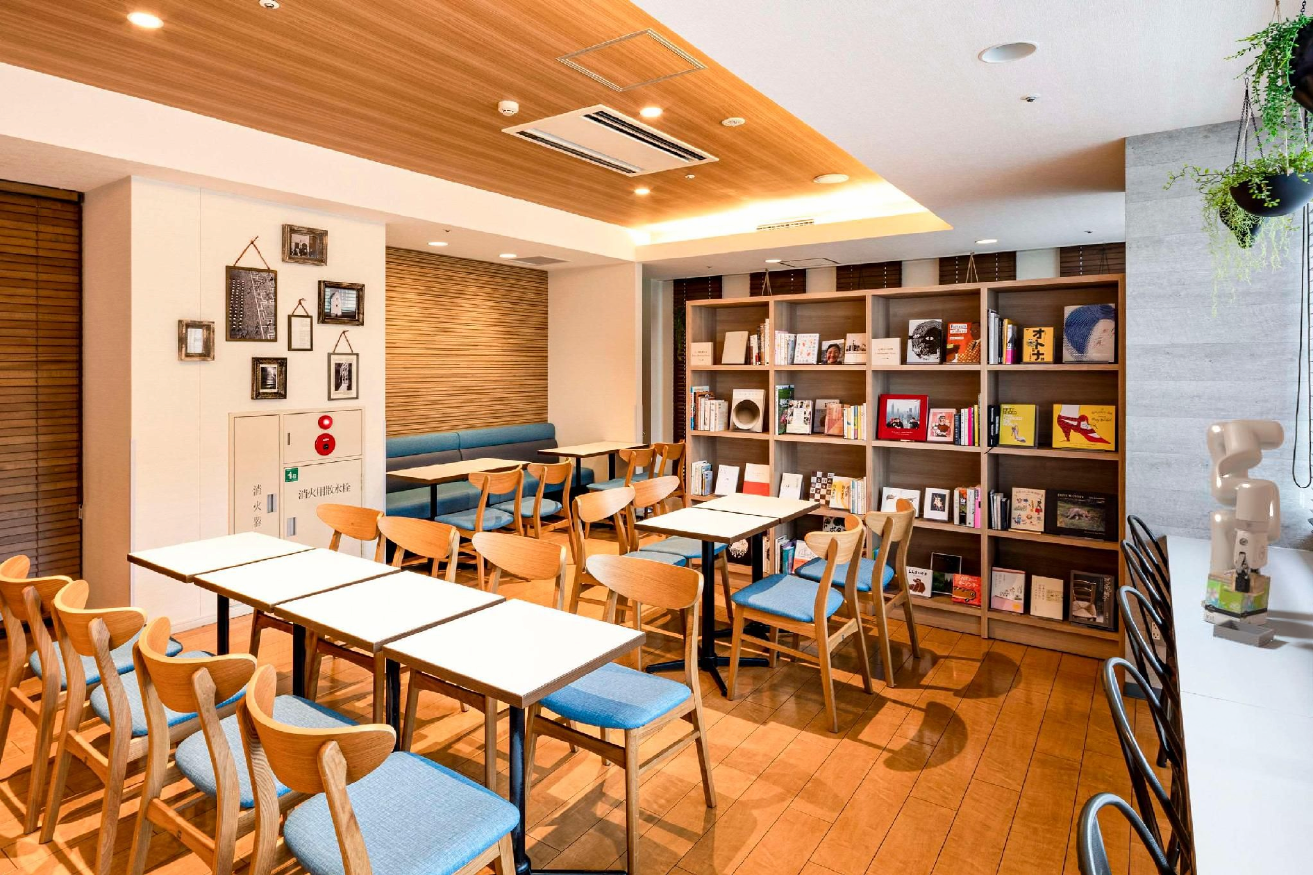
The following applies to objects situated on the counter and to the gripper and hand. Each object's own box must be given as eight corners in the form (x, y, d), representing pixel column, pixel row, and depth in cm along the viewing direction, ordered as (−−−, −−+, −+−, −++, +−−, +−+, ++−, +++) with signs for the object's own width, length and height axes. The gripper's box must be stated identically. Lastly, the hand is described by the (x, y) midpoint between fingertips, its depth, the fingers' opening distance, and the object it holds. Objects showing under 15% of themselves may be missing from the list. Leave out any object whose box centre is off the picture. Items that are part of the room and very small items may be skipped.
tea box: (1240, 631, 219) (1244, 581, 218) (1202, 621, 228) (1206, 572, 227) (1267, 624, 226) (1271, 575, 225) (1229, 614, 235) (1233, 567, 234)
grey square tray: (1228, 629, 221) (1229, 619, 220) (1273, 640, 212) (1274, 629, 211) (1212, 635, 215) (1213, 625, 214) (1258, 647, 206) (1259, 636, 206)
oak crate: (1264, 592, 211) (1265, 575, 211) (1255, 596, 208) (1256, 578, 207) (1238, 587, 216) (1239, 570, 216) (1229, 590, 213) (1230, 573, 212)
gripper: (1255, 531, 203) (1250, 598, 204) (1280, 525, 212) (1275, 589, 214) (1222, 526, 209) (1218, 591, 210) (1248, 521, 218) (1243, 582, 220)
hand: (1246, 589), depth 212 cm, fingers closed on oak crate, 6 cm apart
